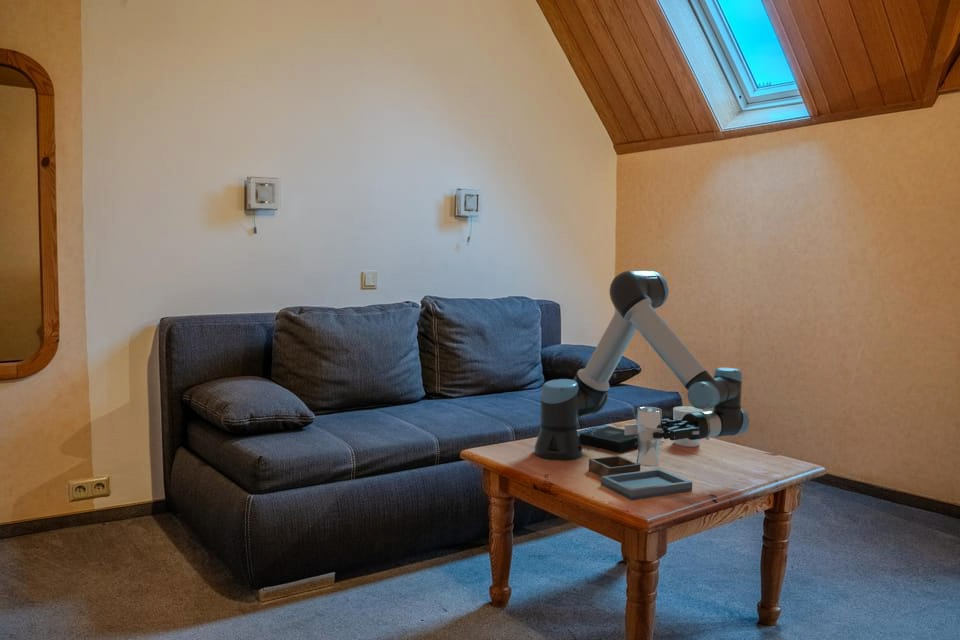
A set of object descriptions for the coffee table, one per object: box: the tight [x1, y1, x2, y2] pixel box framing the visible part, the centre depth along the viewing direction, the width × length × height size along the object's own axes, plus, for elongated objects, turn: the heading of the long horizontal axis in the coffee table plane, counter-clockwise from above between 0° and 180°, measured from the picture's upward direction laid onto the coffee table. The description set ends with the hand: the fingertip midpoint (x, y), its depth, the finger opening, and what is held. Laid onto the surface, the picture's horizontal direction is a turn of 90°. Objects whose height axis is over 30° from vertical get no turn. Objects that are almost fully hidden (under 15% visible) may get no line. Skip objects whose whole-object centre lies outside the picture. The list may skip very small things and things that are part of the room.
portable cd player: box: [578, 426, 638, 454], centre depth 252 cm, size 16×17×4 cm
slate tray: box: [600, 468, 693, 501], centre depth 204 cm, size 14×20×2 cm
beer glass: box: [635, 406, 663, 468], centre depth 203 cm, size 7×7×15 cm
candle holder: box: [672, 405, 704, 448], centre depth 254 cm, size 10×10×12 cm
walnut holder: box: [588, 455, 641, 477], centre depth 218 cm, size 11×11×4 cm
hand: (633, 432), depth 201 cm, fingers closed on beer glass, 7 cm apart
